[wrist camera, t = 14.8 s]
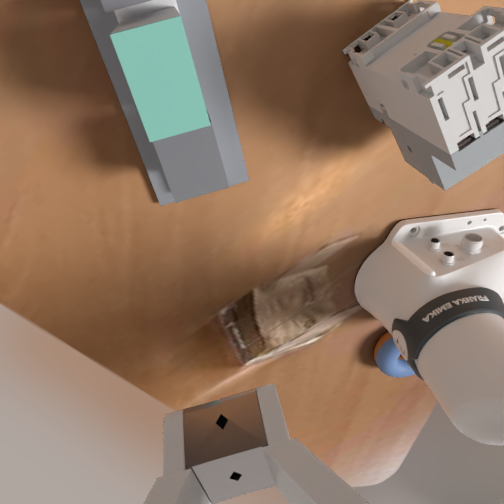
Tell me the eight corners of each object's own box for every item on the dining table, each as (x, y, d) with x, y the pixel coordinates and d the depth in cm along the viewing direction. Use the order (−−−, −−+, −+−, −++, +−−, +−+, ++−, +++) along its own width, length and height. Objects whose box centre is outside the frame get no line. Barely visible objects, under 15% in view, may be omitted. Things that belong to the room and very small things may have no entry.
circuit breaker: (394, 160, 48) (476, 223, 36) (342, 50, 40) (423, 82, 28) (452, 121, 47) (557, 172, 35) (410, -1, 39) (526, 10, 27)
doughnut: (373, 373, 70) (388, 394, 66) (365, 332, 64) (381, 351, 60) (426, 349, 70) (443, 368, 66) (422, 307, 65) (441, 325, 61)
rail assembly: (163, -172, 30) (166, -216, 23) (247, 177, 46) (263, 212, 39) (27, -138, 29) (-12, -172, 23) (160, 202, 45) (161, 242, 39)
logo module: (174, 6, 34) (180, 15, 26) (198, 93, 38) (210, 125, 30) (121, 20, 34) (109, 34, 25) (151, 106, 38) (149, 142, 29)
